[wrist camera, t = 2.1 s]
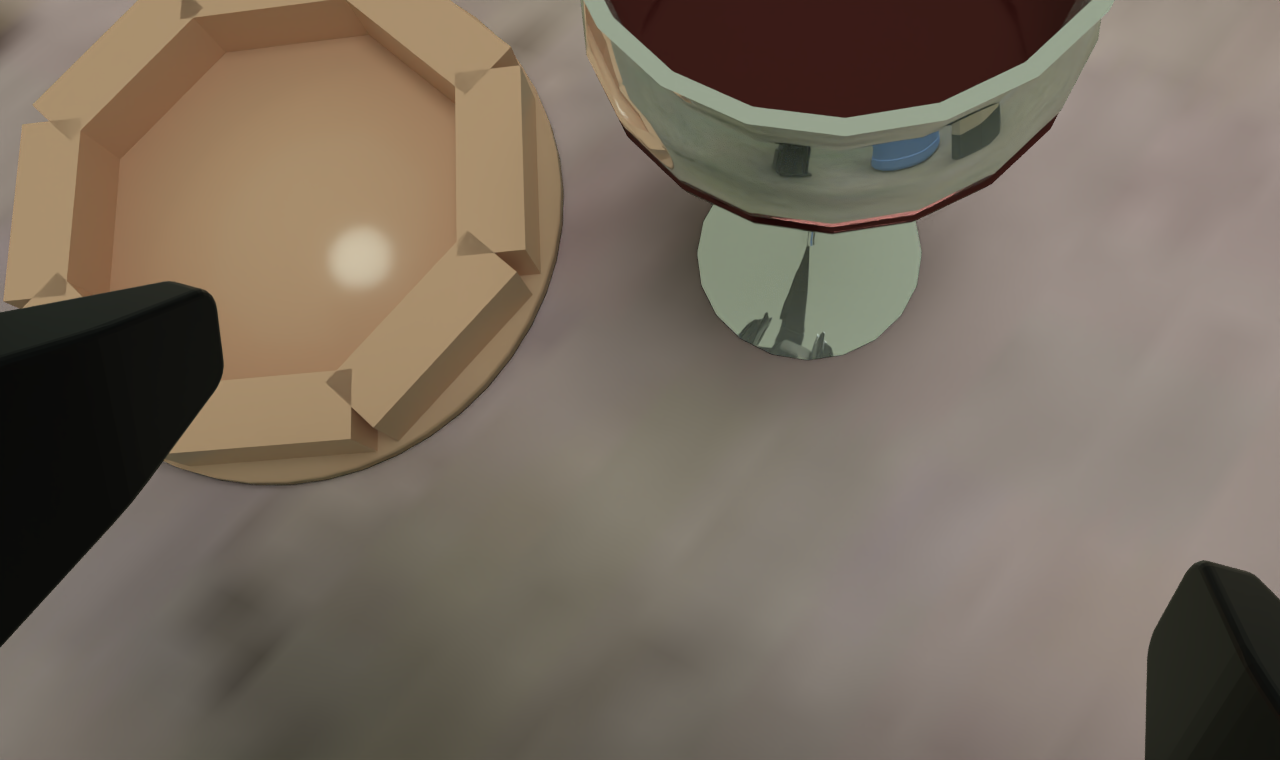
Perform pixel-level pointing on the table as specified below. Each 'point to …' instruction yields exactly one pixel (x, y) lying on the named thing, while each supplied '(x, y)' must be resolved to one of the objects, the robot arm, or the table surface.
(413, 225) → the coaster
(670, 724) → the table surface
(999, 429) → the table surface
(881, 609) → the table surface
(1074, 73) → the wineglass
